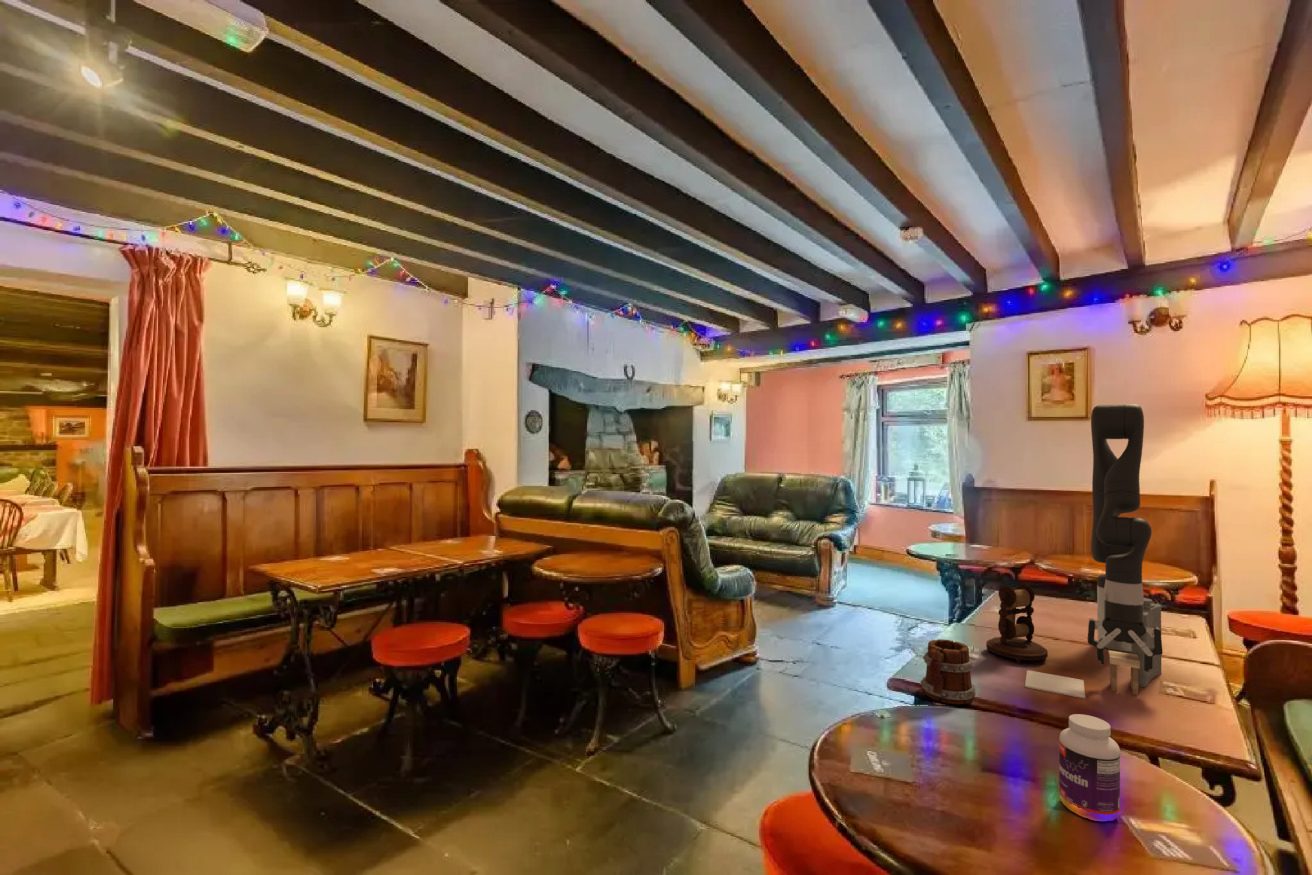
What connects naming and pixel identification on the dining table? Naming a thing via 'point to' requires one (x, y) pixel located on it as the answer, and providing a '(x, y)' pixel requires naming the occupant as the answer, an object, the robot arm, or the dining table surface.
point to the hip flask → (1148, 643)
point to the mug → (948, 672)
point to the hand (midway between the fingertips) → (1123, 666)
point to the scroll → (1016, 626)
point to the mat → (1055, 684)
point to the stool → (1124, 660)
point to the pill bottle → (1089, 765)
